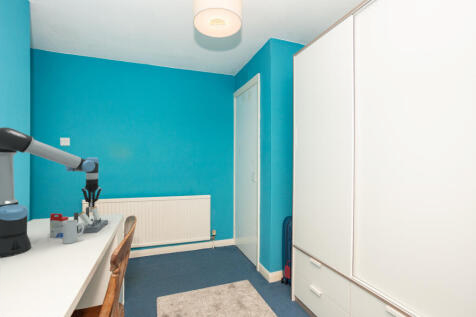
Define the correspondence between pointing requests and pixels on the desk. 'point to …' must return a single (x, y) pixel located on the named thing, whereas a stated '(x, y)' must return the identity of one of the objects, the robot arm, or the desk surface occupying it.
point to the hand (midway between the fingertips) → (91, 211)
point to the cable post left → (76, 218)
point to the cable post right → (88, 212)
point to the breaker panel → (94, 226)
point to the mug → (71, 231)
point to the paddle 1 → (85, 218)
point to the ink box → (57, 225)
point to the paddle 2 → (95, 213)
